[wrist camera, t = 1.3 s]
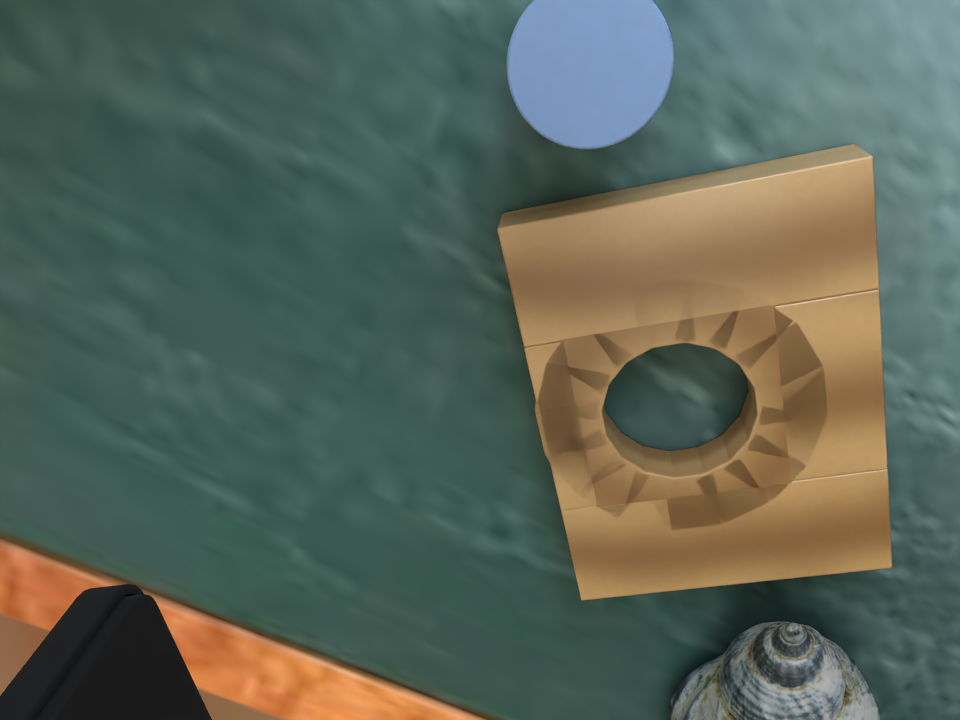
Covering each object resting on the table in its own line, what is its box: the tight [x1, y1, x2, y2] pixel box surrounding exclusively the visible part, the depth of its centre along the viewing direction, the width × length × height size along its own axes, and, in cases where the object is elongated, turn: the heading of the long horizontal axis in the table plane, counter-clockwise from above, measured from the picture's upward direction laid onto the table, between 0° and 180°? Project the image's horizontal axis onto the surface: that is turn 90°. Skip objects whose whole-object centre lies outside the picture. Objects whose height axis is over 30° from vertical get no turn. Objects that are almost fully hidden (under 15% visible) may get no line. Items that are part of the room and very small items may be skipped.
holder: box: [497, 144, 892, 600], centre depth 32 cm, size 16×12×2 cm
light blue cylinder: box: [507, 0, 674, 149], centre depth 25 cm, size 4×4×7 cm
